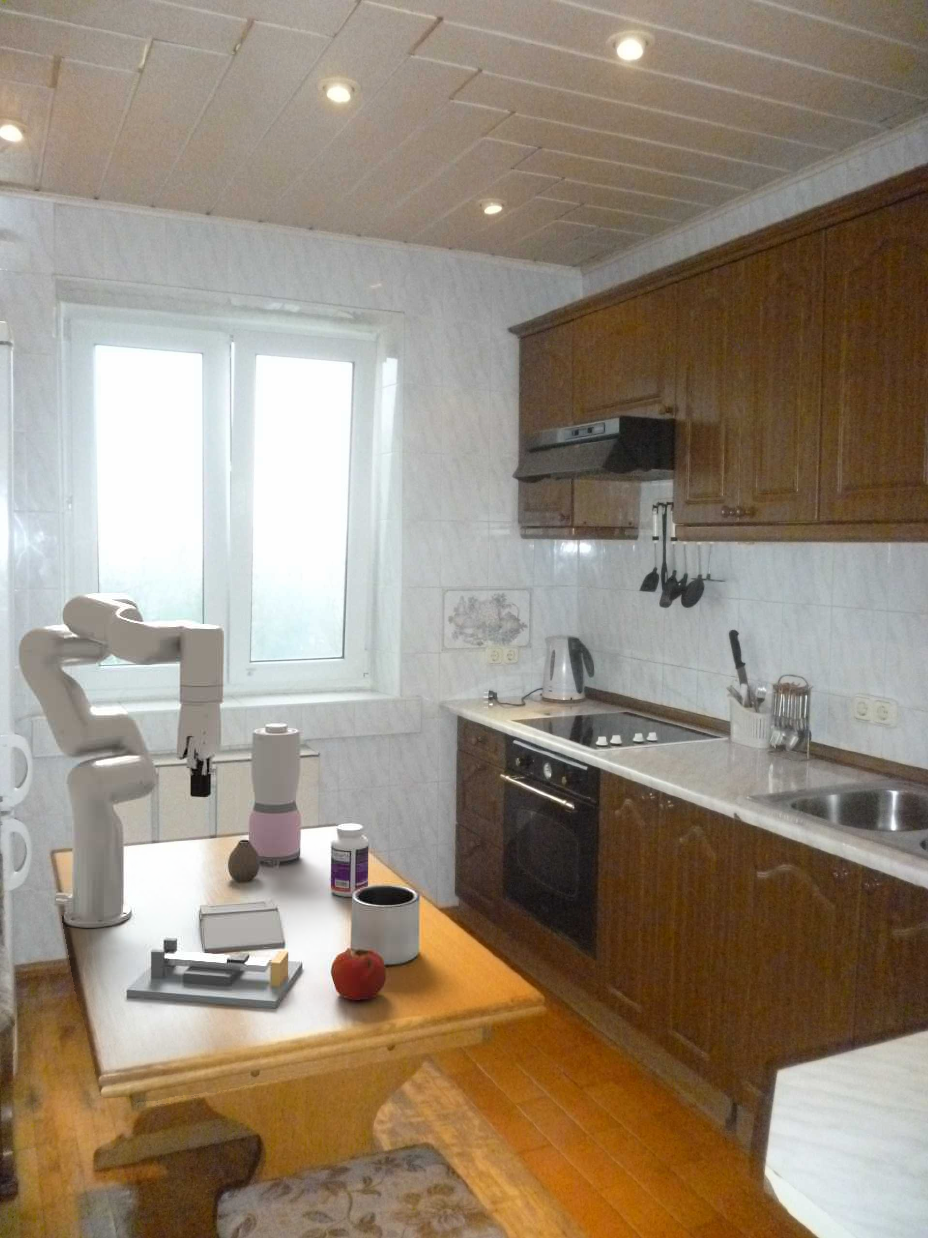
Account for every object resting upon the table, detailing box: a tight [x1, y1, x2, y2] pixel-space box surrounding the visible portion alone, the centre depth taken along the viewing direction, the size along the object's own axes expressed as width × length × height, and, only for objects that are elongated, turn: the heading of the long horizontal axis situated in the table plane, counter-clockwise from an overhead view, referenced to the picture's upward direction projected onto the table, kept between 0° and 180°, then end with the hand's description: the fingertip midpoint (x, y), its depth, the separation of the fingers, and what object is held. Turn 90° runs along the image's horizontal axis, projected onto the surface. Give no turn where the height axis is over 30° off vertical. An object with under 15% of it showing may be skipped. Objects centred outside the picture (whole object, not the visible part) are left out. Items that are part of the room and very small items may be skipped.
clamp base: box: [126, 937, 303, 1009], centre depth 176 cm, size 25×16×6 cm, turn 83°
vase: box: [227, 839, 261, 883], centre depth 229 cm, size 7×7×9 cm
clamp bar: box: [165, 950, 272, 972], centre depth 176 cm, size 19×4×2 cm, turn 83°
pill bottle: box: [330, 822, 370, 898], centre depth 222 cm, size 8×8×14 cm
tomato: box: [330, 947, 387, 1001], centre depth 172 cm, size 9×9×8 cm
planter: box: [349, 884, 421, 967], centre depth 189 cm, size 12×12×11 cm
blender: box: [248, 723, 302, 868], centre depth 245 cm, size 16×12×32 cm
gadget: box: [198, 899, 286, 954], centre depth 201 cm, size 23×15×4 cm, turn 16°
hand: (200, 795), depth 185 cm, fingers closed
